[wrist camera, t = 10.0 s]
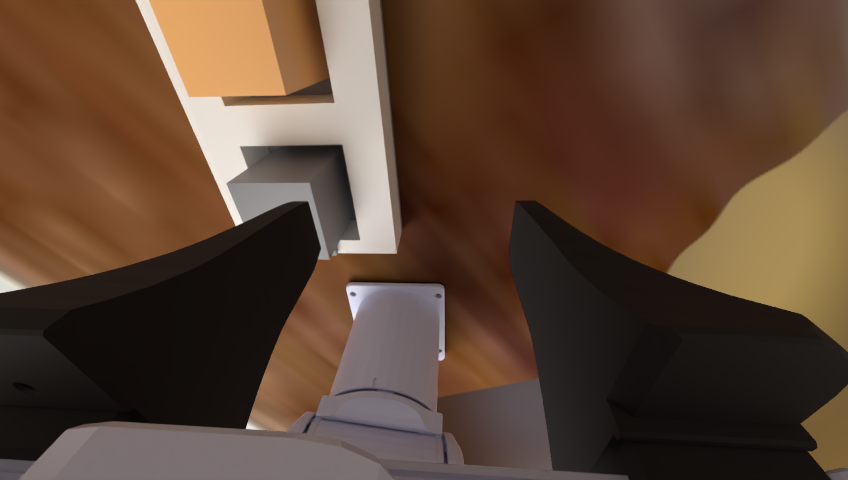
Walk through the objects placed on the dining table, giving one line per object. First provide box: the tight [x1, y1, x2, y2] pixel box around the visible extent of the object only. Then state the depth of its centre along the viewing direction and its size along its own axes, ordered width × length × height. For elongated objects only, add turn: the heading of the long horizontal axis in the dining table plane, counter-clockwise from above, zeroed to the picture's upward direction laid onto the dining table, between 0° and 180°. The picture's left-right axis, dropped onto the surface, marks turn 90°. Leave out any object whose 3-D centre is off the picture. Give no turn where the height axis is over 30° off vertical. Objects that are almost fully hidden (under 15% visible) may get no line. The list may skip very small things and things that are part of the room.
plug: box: [149, 0, 330, 97], centre depth 13 cm, size 4×4×6 cm
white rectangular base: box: [136, 0, 403, 260], centre depth 16 cm, size 16×10×6 cm, turn 2°
